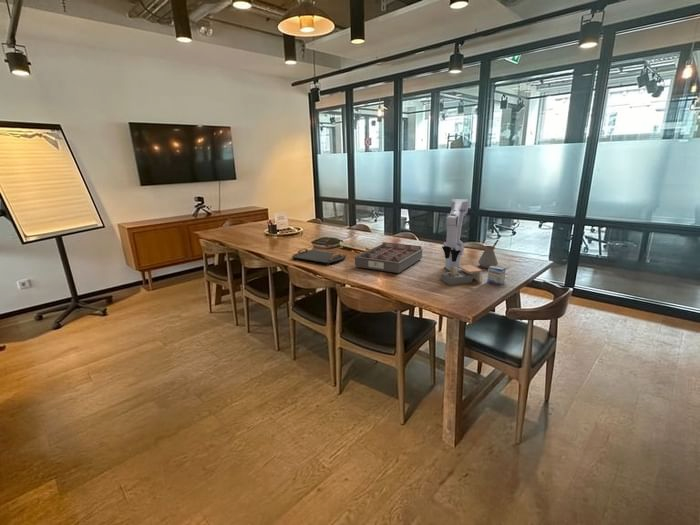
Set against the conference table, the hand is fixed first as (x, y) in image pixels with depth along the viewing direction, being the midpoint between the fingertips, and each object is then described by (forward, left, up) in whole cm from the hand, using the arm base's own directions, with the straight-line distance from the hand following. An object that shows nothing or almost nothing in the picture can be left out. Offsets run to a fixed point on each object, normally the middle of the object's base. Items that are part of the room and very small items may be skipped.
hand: (450, 259), depth 204 cm
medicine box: (+18, +18, -10) cm, 27 cm away
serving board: (-65, -67, -11) cm, 94 cm away
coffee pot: (-12, +36, -10) cm, 39 cm away
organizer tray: (-36, -24, -10) cm, 44 cm away
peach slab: (+9, +7, -10) cm, 15 cm away
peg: (+9, -3, -10) cm, 14 cm away
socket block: (+9, -1, -10) cm, 13 cm away
